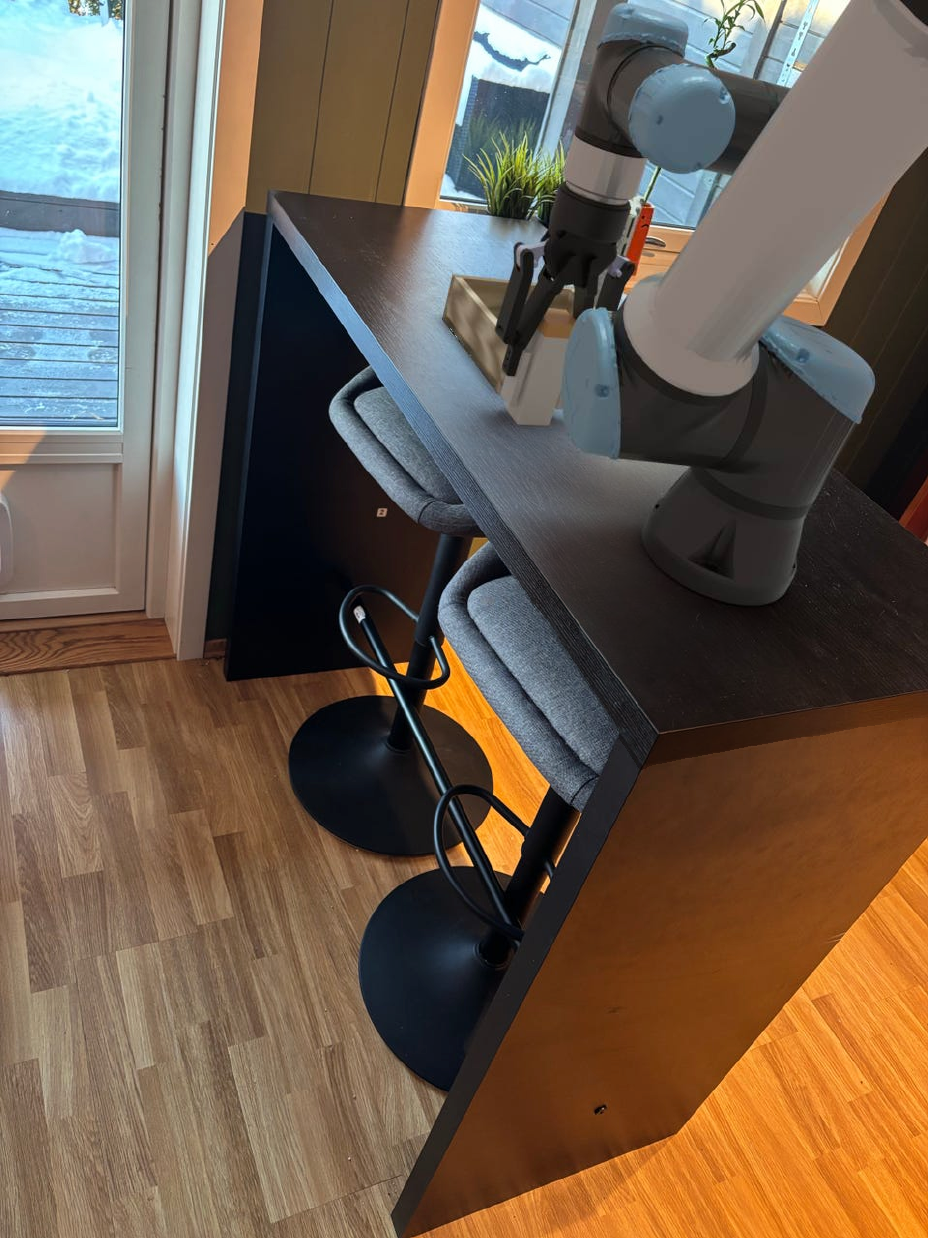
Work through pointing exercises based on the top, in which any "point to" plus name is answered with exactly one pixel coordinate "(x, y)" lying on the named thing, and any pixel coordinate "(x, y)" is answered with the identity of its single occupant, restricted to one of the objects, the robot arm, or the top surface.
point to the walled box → (486, 319)
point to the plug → (543, 370)
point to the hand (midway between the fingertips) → (531, 401)
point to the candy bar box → (625, 236)
